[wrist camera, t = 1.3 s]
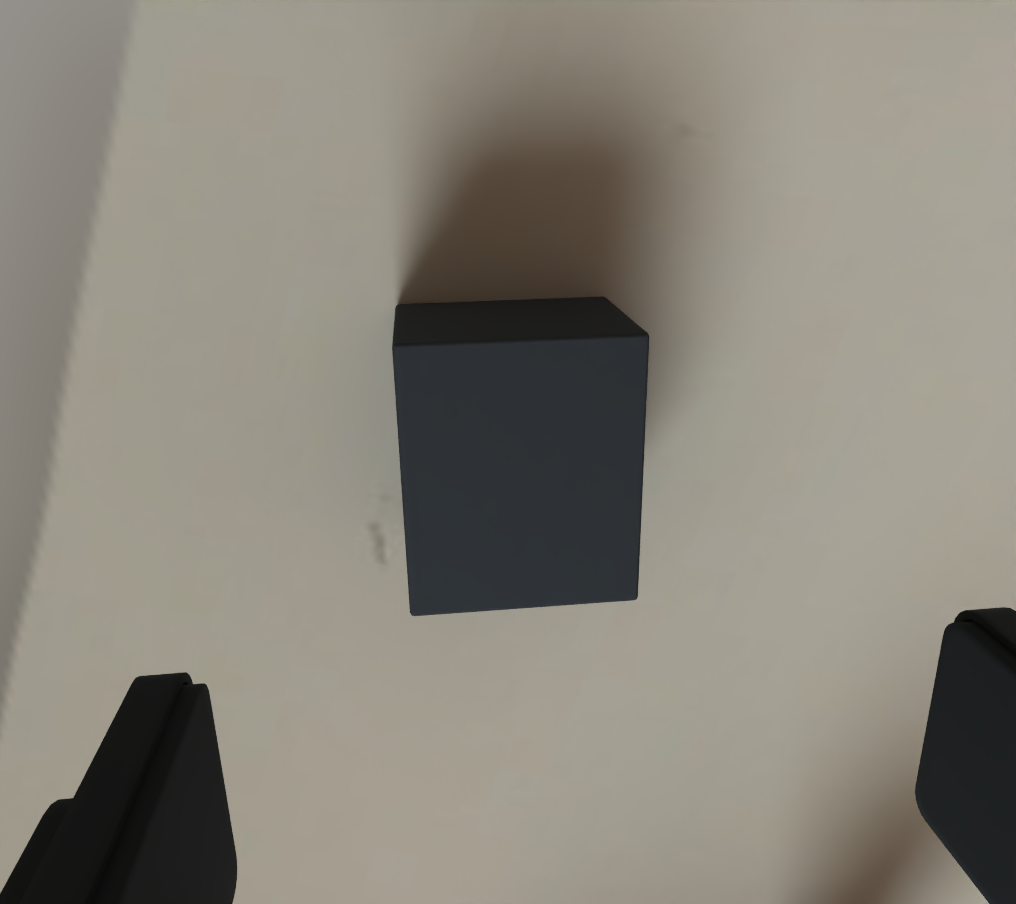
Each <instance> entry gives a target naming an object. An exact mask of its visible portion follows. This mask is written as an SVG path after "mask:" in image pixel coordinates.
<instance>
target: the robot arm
mask: <svg viewBox="0 0 1016 904" xmlns="http://www.w3.org/2000/svg"><path fill="white" fill-rule="evenodd" d="M915 795H916V801H917V805H918V808H919V810H920V813H921V815H922V816H923V818H924V819H925V821H926V822H927V823H928V825H929V826H930V827H931V829H932V830H933V831H934V833H935V834H936V835H937V836H938V838H939V839H940V840H941V842H942V843H943V844H944V845H945V847H946V848H947V849H948V851H949V852H950V853H951V855H952V856H953V857H954V858H955V860H956V861H957V862H958V864H959V865H960V866H961V868H962V869H963V870H964V871H965V873H966V874H967V875H968V877H969V878H970V879H971V880H972V882H973V883H974V884H975V886H976V887H977V888H978V890H979V891H980V892H981V893H982V895H983V896H984V897H985V899H986V900H987V901H988V903H989V904H1016V611H1015V610H1013V609H1011V608H990V609H978V610H965V611H963V612H961V613H959V614H958V616H957V617H956V618H955V621H954V623H951V624H949V625H948V626H947V627H946V628H945V631H944V634H943V639H942V645H941V650H940V656H939V661H938V666H937V672H936V677H935V683H934V688H933V694H932V699H931V705H930V710H929V716H928V721H927V726H926V732H925V737H924V743H923V748H922V754H921V759H920V765H919V770H918V776H917V781H916V787H915ZM236 881H237V858H236V851H235V845H234V839H233V833H232V827H231V821H230V815H229V809H228V803H227V797H226V791H225V785H224V779H223V773H222V767H221V761H220V755H219V749H218V742H217V736H216V730H215V724H214V718H213V712H212V706H211V700H210V695H209V690H208V687H207V685H206V684H193V683H192V679H191V677H190V675H189V674H188V673H173V674H161V675H148V676H139V677H137V678H135V680H134V681H133V683H132V684H131V686H130V688H129V690H128V692H127V694H126V696H125V698H124V700H123V702H122V704H121V706H120V708H119V710H118V712H117V714H116V716H115V718H114V720H113V721H112V723H111V725H110V727H109V729H108V731H107V733H106V735H105V737H104V739H103V741H102V743H101V745H100V747H99V749H98V751H97V753H96V755H95V757H94V759H93V761H92V762H91V764H90V766H89V768H88V770H87V772H86V774H85V776H84V778H83V780H82V782H81V784H80V786H79V788H78V790H77V792H76V794H75V796H74V798H71V799H60V800H57V801H56V802H54V803H53V804H51V805H50V806H49V808H48V809H47V811H46V812H45V813H44V815H43V816H42V818H41V820H40V822H39V824H38V826H37V827H36V829H35V831H34V833H33V835H32V837H31V838H30V840H29V842H28V844H27V846H26V848H25V849H24V851H23V853H22V855H21V857H20V859H19V861H18V862H17V864H16V866H15V868H14V870H13V872H12V873H11V875H10V877H9V879H8V881H7V883H6V884H5V886H4V888H3V890H2V892H1V894H0V904H232V903H233V898H234V894H235V889H236Z"/></svg>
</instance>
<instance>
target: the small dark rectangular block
mask: <svg viewBox="0 0 1016 904" xmlns="http://www.w3.org/2000/svg"><path fill="white" fill-rule="evenodd" d="M392 350H393V365H394V380H395V395H396V410H397V425H398V439H399V454H400V469H401V484H402V499H403V514H404V529H405V544H406V559H407V573H408V588H409V603H410V613H411V615H412V616H422V615H436V614H449V613H463V612H477V611H491V610H505V609H518V608H532V607H546V606H560V605H574V604H588V603H601V602H615V601H629V600H636V599H637V597H638V578H639V555H640V532H641V510H642V487H643V465H644V442H645V419H646V397H647V374H648V351H649V335H648V333H647V332H645V331H644V330H643V329H642V328H641V327H640V326H638V325H637V324H636V323H635V322H634V321H633V320H631V319H630V318H629V317H628V316H627V315H625V314H624V313H623V312H622V311H621V310H620V309H618V308H617V307H616V306H615V305H614V304H612V303H611V302H610V301H609V300H608V299H607V298H605V297H585V298H558V299H531V300H504V301H477V302H450V303H423V304H399V305H397V306H396V308H395V321H394V333H393V345H392Z"/></svg>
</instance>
